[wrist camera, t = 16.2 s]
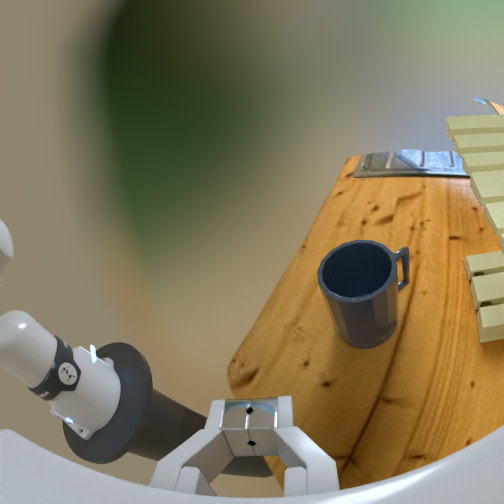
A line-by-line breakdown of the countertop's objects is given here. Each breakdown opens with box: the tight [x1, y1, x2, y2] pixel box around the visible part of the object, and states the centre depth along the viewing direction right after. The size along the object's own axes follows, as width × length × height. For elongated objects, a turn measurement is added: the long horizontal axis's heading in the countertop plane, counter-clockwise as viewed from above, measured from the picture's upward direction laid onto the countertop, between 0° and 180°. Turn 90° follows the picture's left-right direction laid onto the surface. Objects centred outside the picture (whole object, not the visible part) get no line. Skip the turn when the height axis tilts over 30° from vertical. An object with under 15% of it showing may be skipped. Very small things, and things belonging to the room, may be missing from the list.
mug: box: [317, 240, 409, 349], centre depth 29 cm, size 11×8×10 cm
